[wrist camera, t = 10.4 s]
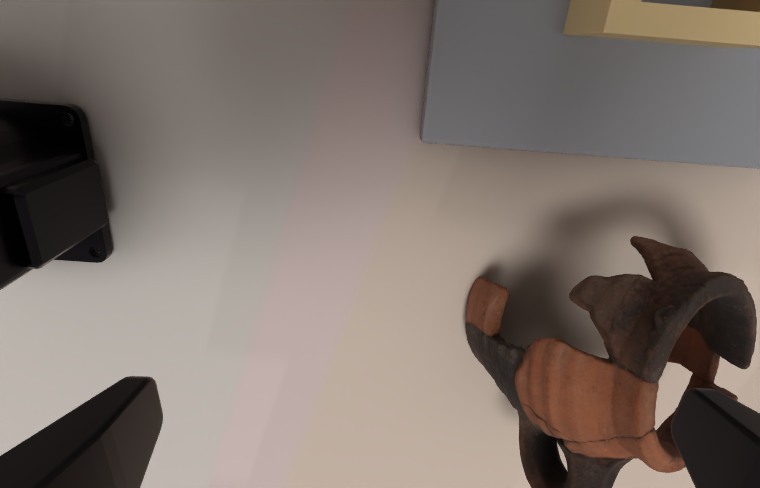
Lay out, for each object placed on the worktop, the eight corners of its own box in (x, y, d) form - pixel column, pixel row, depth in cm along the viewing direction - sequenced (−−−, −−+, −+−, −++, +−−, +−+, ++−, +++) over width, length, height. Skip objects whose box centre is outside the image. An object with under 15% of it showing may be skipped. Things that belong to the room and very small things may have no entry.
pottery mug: (464, 210, 19) (657, 251, 12) (602, 220, 24) (800, 253, 17) (428, 460, 21) (576, 620, 14) (562, 424, 26) (723, 532, 19)
